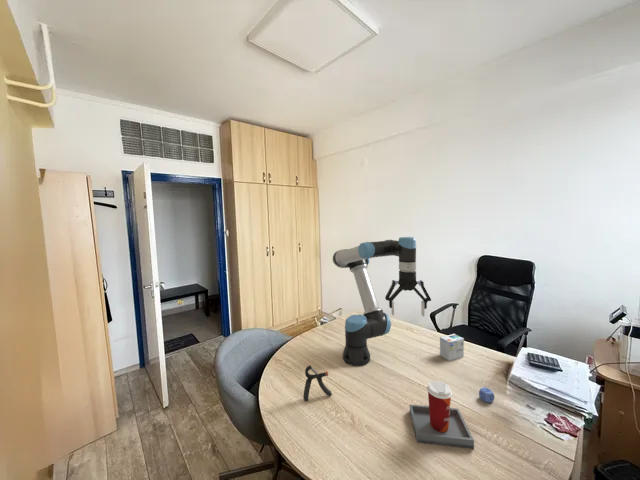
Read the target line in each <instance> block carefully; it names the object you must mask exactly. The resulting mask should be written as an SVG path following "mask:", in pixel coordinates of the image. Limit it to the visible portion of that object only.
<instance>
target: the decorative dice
mask: <svg viewBox="0 0 640 480" xmlns="http://www.w3.org/2000/svg"><path fill="white" fill-rule="evenodd" d="M478 395H479V397H480V399H481V400H482V401H483V402H485V403H489V404H490V403H493V402H494V400H495V393H494V391H492V390H491V389H490V388H488V387H480V389H479V391H478Z"/></svg>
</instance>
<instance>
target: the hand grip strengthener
mask: <svg viewBox="0 0 640 480" xmlns="http://www.w3.org/2000/svg"><path fill="white" fill-rule="evenodd" d="M310 370H311V371H312V372H313V374H310V373H309V371H310ZM304 373H305V374H304V375H305V377H306V378H307V379H306V380H305V384H304V389H303V400H304V402H308V401H309V394H310V389H311V385H312V382H313V381H312V380H314V379H316V380H317V384H318V385H319V387H320V389H321V391H323V393H325V395H326V396H328V397H329V398H330V397H331V396H332V395H333V393H332V390H330V389H329V388H328V387H327V386H326V385H325V384H324V382H323V378H324V377H328V376H329V372H328V371H324V372H320V373H319V372H318V371H316V370H315V368H313V367H312V365H308V366H306V368H305V370H304Z"/></svg>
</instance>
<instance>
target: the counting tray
mask: <svg viewBox="0 0 640 480" xmlns="http://www.w3.org/2000/svg"><path fill="white" fill-rule="evenodd" d="M409 413H410V414H409V415H410V418H411V422H412V427H413V431H414V434H415V440H416V443H418V444H419V443H421V444H429V445H437V446H445V447H446V446H447V447H456V448H464V449H472V450H473V449H475V439H474V437H473V436H472V434H471V431H470V430H469V426H468V425H467V424H466V421H465V420H464V418H463V416H462V413H461V412H460V409H459V408H454V407H450V415H449V427H448V431H447V432H444V433H442V432H438V431H436V430H434V429H433V428H432V427H431V424H430V413H429V405H420V404H409Z"/></svg>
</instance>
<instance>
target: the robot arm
mask: <svg viewBox="0 0 640 480" xmlns="http://www.w3.org/2000/svg"><path fill="white" fill-rule="evenodd" d="M416 241H417V240H416V238H415V237H413V236H402V237H398V240H396V239H395V240H393V239H385V240H380V241H365V242H360V243H359V245H357V246H354V247H351V248H346V249H338V250H336V251H335V252H334V253H333V255H332V262H333V264H334V266H336V267H338V268H339V269H347V268H349V272H351V273H352V274H353V277H354V280H355V284H356V286H357V290H358V293H359V296H360V300H361V303H362V306H363V310H364V312H363V314H359V313H358V314H352V315H349V316H348V317H346V319H345V321H344V322H345V324H344V333H345V335H344V336H345V345H344V348H343V352H342V361H343V362H345V363H346V364H347V365H349V366H354V367H363V366H366V365H367V364H369V363H370V361H371V354H370V351H369V347H368V344H367V343H368V342H367V341H368V339H369V340H370V339H373V338H377V337H382V336H384V335H387V334H389V333H390V331H391V327H392V321H391V318H390V315H388V314H387V313H386V312H384V311H383V308H381V307H379V304H378V303H379V302H378V301H377V298H376V295H375V292H374V291H375V290H374V288H373V284H372V282H371V278H370V275H369V272H368V267H369V264H370V259H373V258H380V257H390V256H395V257H398V280H394V279H392V280H391V285H390V287H389V288H388V290H387V293H386V295H385V298H384V299H385V301H388V305H389V306H388V307H389V309H391V316H395V302H394V300H395V299H396V297H397V296H398V295H399V294H400V293H401V292H402V291H409V292H410V291H414V293H416V294H417V296H418V297H420V298H421V304H420V305H421V306H420V307H421V316H422V317H425V315H426V313H425V312H426V311H425V309H426V310H427V307H428V305H427V304H428V302H431V301H432V298H431V297H430V294H429V293H428V291H427V290H426V287H425V284H424V281H423V280H422V279H420V280H417V271H416V270H417V242H416ZM397 285H398V287H397V289H396V290H394V289H395V287H396V286H397ZM417 285H418V286H420V288H421V289H422V292H423V294H424V295H425V297H424V296H423V295H422V293H421V292H420V291H419V290H418V288H416V286H417ZM393 291H394V292H393Z"/></svg>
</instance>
